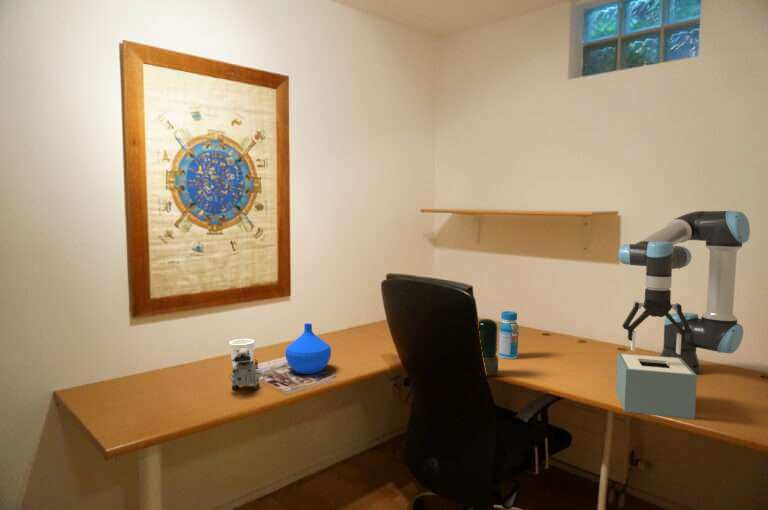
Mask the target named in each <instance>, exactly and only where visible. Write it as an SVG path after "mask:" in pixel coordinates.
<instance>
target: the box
mask: <svg viewBox="0 0 768 510" xmlns="http://www.w3.org/2000/svg"><path fill="white" fill-rule="evenodd" d="M616 358H617V359H616V360H617V362H616V382H615V383H616V384H615V392H616V394H617V397H618V399H619V401H620V404H621V407H622V409H623V412H624V413H626V412H627V413H635V414H642V415H643V414H644V415H652V416H659V417H660V416H661V417H671V418H679V419H681V418H682V419H691V420H695V419H696V417H695V416H696V399H697V385H698V384H697V383H698V381H697V380H698V374H695V373H694V372H693V371H692V369H691V368H690V367H689V366H688V365H687V364H686V363H685V362H684V361H683V360H682V359H681V358H677V357H664V356H660V355H652V354H651V355H649V354H636V353H625V352H624V353H622V352H617V357H616Z"/></svg>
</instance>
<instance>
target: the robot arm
mask: <svg viewBox="0 0 768 510" xmlns="http://www.w3.org/2000/svg"><path fill="white" fill-rule="evenodd" d="M750 232H751V228H750V223H749V220H748V218H747V216H746V214H745V213H743V212H742V211H736V210H713V211H711V210H698V211H697V210H696V211H692V212H688V213H685V214H683V215H680V216H678V217H676V218H673V219H672V220H670V221H668V223H667V225H666V226H665V227H664V228H661V229H660V230H658V231H656V232H654V233H652V234H651V235H649V236H648V237H646V238H644V239H641V240H640V241H638V242H636V243H624V244H622V245H621V246H620V247H619V249H618V259H619V262H621V264H623V265H629V266H636V267H638V266H640V267H645V268H646V269H645V290H644V302H638V301H634V303H633V306H632V308H631V310H630V311H629V314H628V315H627V317H626V319H625V320H624V322H623V324H622V329H624V330H627V339H628V341H630V349H631V352H635V350H636V349H635V348H636V331H635V330H636V328H638V327H639V326H640V324H641V323H643V321H645V320H646V319H647V318H648V317H650V316H651V317H652V318H653V317H659V318H663V317H664V323H663V326H664V327H663V347H662V351H661V353H660V355H659V356H664V357H677V358H681V359H682V360H683V361H684V362H685V363H686V364H687V365H688V366H689V367H690V368H691V369H692V371H693V372H694V373H695V374H696V375H698V374H699V373H701V364H700V361H699V358H698V354H697V349H703V350H708V351H713V352H717V353H723V354H733V353H735V352H736V351H737V350H738V349H739V347H740V346H741V343H742V340H743V337H744V328H743V326H742V325H741V324H739V323H738V318H737V317H736V316H735V314H734V304H735V303H734V301H735V287H736V286H735V285H736V270H737V254H738V252H739V250H741V249H742V248H743V244H744V243H747V242H748V241H749V238H750V236H751V233H750ZM687 241H699V242H700V241H701V242H702V241H703V242H705V247H706V248H707V249H708V250H709V261H708V262H709V263H708V264H709V265H708V277H707V278H708V280H707V293H706V294H707V298H706V311H705V312H704V313H703V314H701V317H699V315H698V314H697V313H695V312H694V313H693V312H683V309H682V304H680V303H674V304H671V303H672V301H671V298H672V297H671V296H672V291H671V288H672V276H673V275H672V274H673V273H672V271H673V270H676V269H679V270H680V269H683V268H684V267H687V266H688V265H689V264H690V263H691V261H692V254H691V251H690V250H689V249H688V248H687V247H685V246H682V245H681V246H680V245H677V244H679V243H685V242H687ZM642 307H643V309H644V311H643V312H642V314H640V315H639V316H638V317H637V318H636V319H635V320H634V318H635V316H636V315H637V313H638V311H639V310H641V308H642ZM672 309H673V311H674V313H670V311H671V310H672ZM633 320H634V321H633ZM632 321H633V322H632Z"/></svg>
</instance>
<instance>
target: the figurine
mask: <svg viewBox="0 0 768 510" xmlns="http://www.w3.org/2000/svg"><path fill="white" fill-rule="evenodd" d="M236 351H238V350H236ZM251 357H252V353H251V352H250V350H249V349H248V348H240V350H239V351H238V352H237V354H236V355H235V357H234V359H233V360H232V359H231V362H232V361H235V363H236V365H235V366H234V367H233V366H232V370H231V371H232V373H231V375H230V376H229V377H230V380H231V384H232V385H231V390H235V391H236V390H237V388H238V387H239V386H242V387H243V386H244V387H245V386H250V385H252V391H257V390H258V388H259V387H260V385H261V384H260V381H259V379H260V377H259V374H258V373H257V371H256V370H259V362H258V360H257V359H256V358H254V359H253V360H252V361H251Z"/></svg>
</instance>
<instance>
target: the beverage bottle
mask: <svg viewBox="0 0 768 510" xmlns="http://www.w3.org/2000/svg"><path fill="white" fill-rule="evenodd" d="M501 320H502V321H501V322H500V325H499V331H498V335H499V337H498V339H499V340H498V343H499V344H498V346H499V347H498V348H499V349H498V356H499V357H500V358H502V359H506V360H508V359H509V360H513V359H514V360H515V359H517V358H518V357H519V354H518V353H519V349H518V348H519V334H520V333H519V325H518V323H517V320H518V313H517V312H516V311H512V310H511V311H510V310H508V311H505V310H504V311H501Z"/></svg>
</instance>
